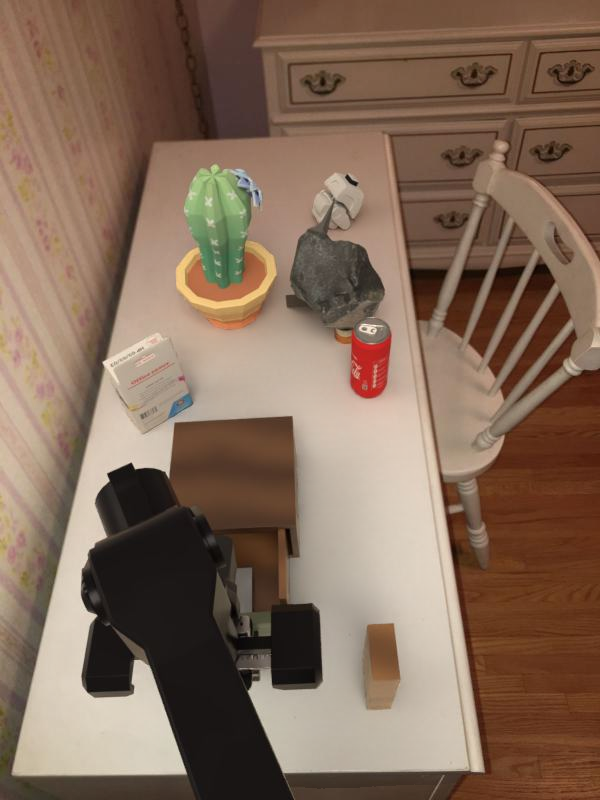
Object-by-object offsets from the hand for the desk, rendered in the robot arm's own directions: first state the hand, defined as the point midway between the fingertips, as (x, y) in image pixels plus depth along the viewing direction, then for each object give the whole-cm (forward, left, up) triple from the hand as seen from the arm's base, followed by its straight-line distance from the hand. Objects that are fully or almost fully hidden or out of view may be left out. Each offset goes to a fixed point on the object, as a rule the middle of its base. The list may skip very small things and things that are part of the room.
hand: (220, 675), depth 58 cm
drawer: (+10, 0, -12) cm, 16 cm away
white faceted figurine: (+78, -16, -13) cm, 81 cm away
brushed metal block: (+10, 0, -11) cm, 15 cm away
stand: (+1, -15, -13) cm, 20 cm away
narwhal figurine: (+53, -14, -13) cm, 57 cm away
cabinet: (+23, 0, -13) cm, 27 cm away
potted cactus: (+58, +2, -13) cm, 60 cm away
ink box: (+39, +12, -13) cm, 43 cm away
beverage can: (+41, -18, -13) cm, 47 cm away
